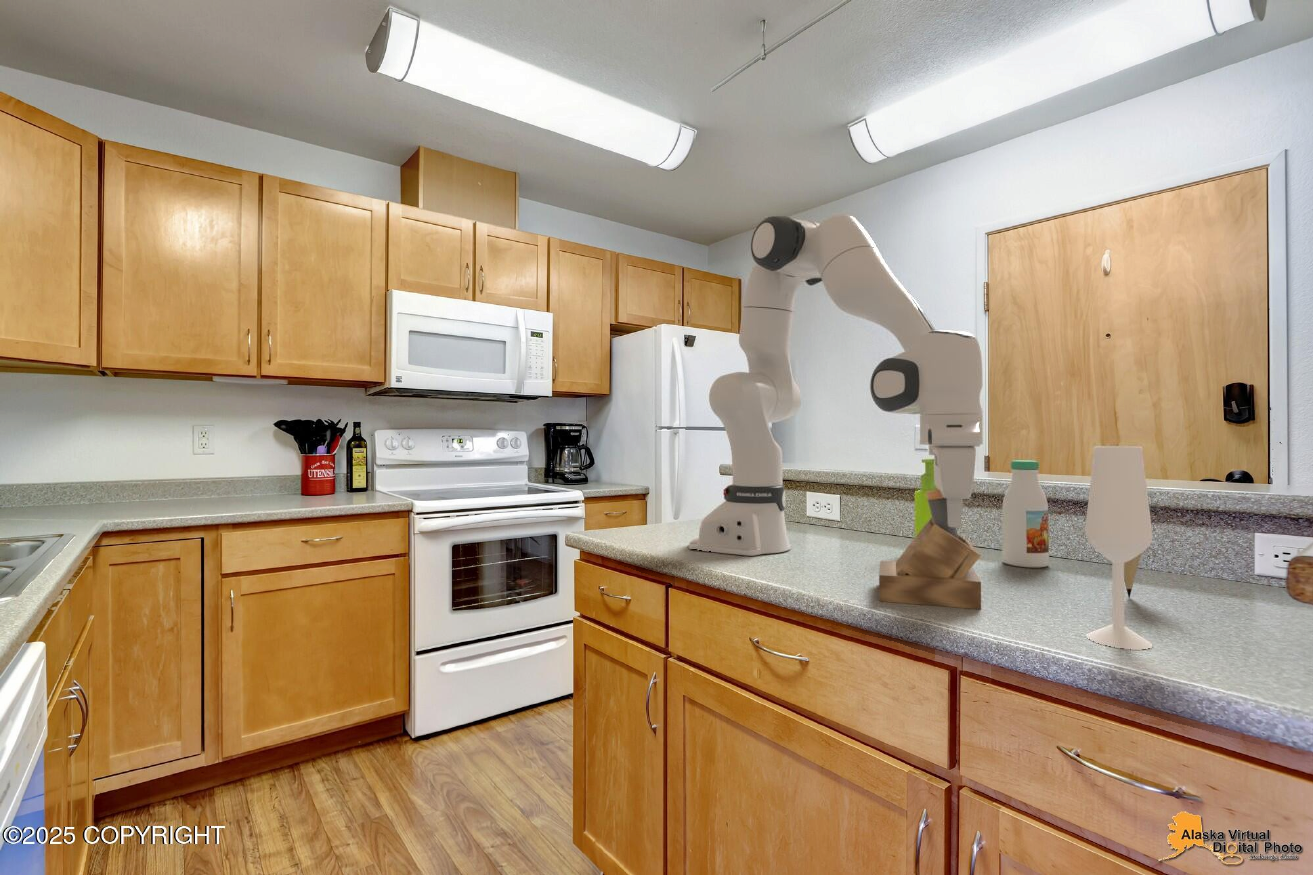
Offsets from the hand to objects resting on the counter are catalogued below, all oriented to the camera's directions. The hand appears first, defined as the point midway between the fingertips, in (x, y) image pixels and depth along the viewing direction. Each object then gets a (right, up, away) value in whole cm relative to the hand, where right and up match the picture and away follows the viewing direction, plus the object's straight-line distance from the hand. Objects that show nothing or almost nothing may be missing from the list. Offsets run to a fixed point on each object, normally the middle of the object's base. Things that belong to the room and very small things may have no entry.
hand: (951, 522), depth 97 cm
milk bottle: (+25, -11, +23) cm, 36 cm away
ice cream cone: (+27, -12, -1) cm, 29 cm away
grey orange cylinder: (0, -5, 0) cm, 5 cm away
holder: (-3, -12, +1) cm, 12 cm away
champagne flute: (+11, -12, -20) cm, 26 cm away
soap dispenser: (+12, -11, +33) cm, 37 cm away
